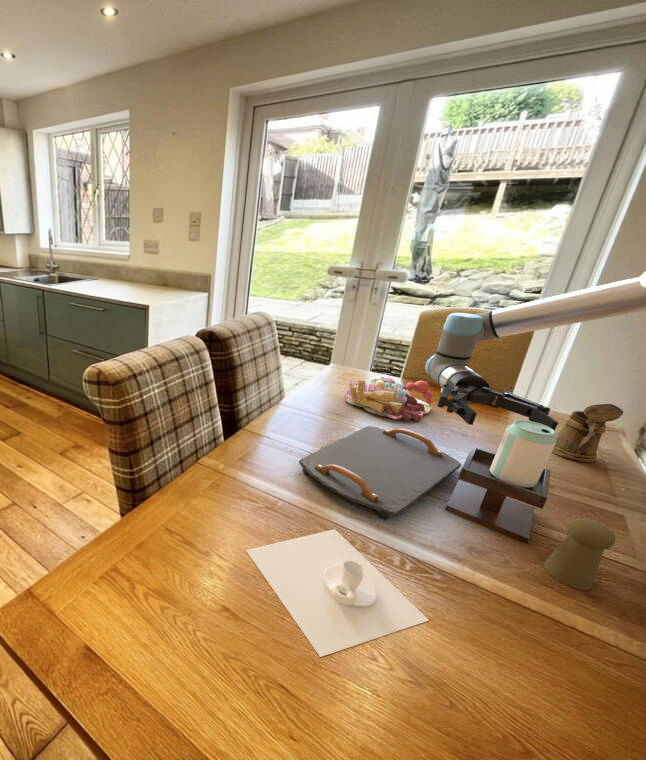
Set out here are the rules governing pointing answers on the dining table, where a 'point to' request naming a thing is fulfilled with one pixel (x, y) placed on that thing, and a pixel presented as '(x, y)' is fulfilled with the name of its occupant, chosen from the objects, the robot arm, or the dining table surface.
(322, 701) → the dining table surface
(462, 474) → the brown pedestal stand
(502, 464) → the can
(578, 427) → the wooden mug
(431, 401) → the candy landscape model
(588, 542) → the cork
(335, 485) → the serving tray
